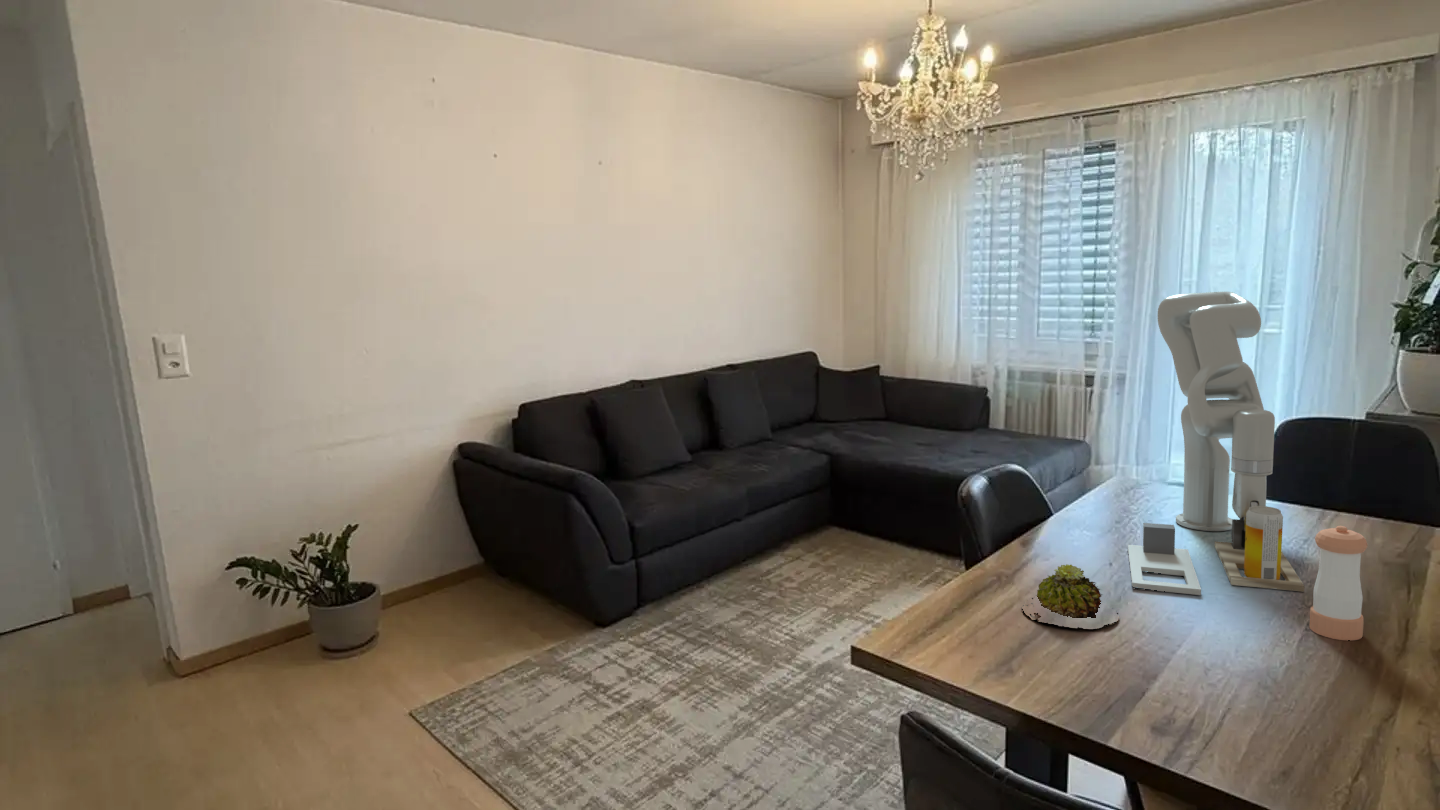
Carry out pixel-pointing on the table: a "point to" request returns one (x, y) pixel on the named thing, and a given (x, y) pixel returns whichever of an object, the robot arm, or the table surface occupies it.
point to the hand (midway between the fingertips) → (1248, 544)
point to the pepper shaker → (1338, 585)
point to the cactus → (1069, 593)
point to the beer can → (1263, 543)
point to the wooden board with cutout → (1234, 560)
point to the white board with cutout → (1162, 561)
